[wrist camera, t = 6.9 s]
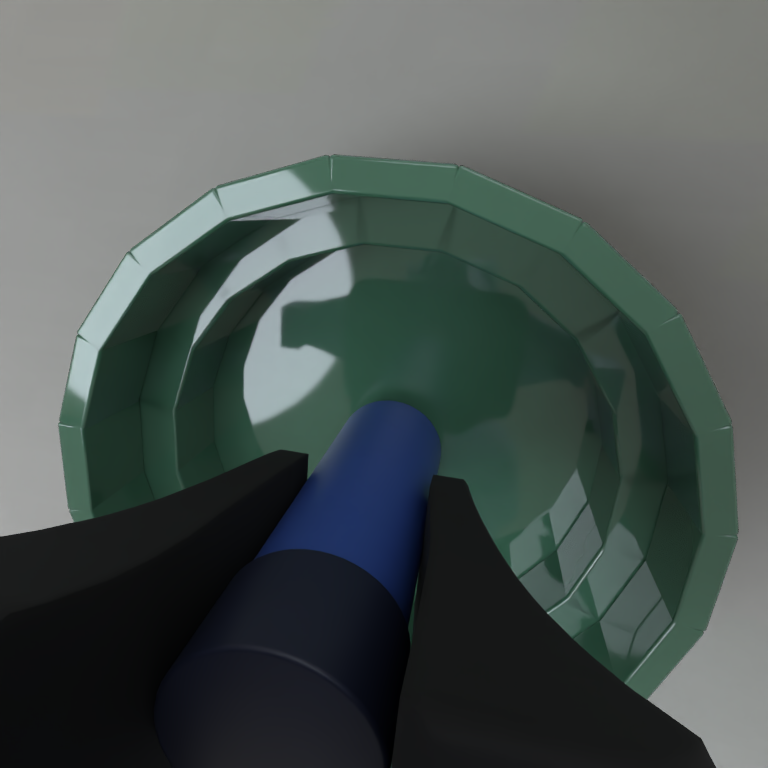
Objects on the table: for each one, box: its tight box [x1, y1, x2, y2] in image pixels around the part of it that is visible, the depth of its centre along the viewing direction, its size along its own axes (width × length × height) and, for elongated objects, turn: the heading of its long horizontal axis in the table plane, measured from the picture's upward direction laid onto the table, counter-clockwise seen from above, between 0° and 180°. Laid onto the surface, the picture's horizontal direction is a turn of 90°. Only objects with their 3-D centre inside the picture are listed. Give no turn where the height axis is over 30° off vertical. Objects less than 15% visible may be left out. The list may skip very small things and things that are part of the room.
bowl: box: [58, 154, 739, 764], centre depth 13 cm, size 13×13×4 cm
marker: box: [154, 401, 441, 768], centre depth 10 cm, size 3×3×8 cm
